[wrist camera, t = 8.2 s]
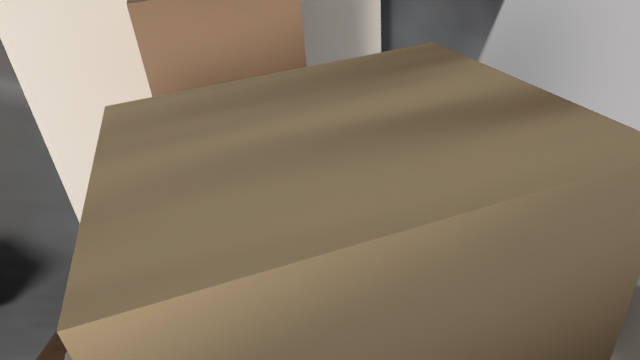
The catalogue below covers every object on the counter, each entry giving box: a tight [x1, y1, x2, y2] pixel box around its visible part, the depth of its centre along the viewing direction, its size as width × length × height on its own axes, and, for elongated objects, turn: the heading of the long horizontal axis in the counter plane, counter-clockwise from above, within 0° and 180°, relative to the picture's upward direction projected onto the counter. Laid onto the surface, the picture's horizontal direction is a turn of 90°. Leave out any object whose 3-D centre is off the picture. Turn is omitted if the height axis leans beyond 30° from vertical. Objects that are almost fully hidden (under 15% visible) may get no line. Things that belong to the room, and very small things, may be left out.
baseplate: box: [0, 0, 381, 222], centre depth 23 cm, size 18×17×1 cm
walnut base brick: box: [126, 0, 307, 97], centre depth 20 cm, size 8×6×5 cm
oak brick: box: [57, 42, 640, 360], centre depth 8 cm, size 8×6×5 cm
